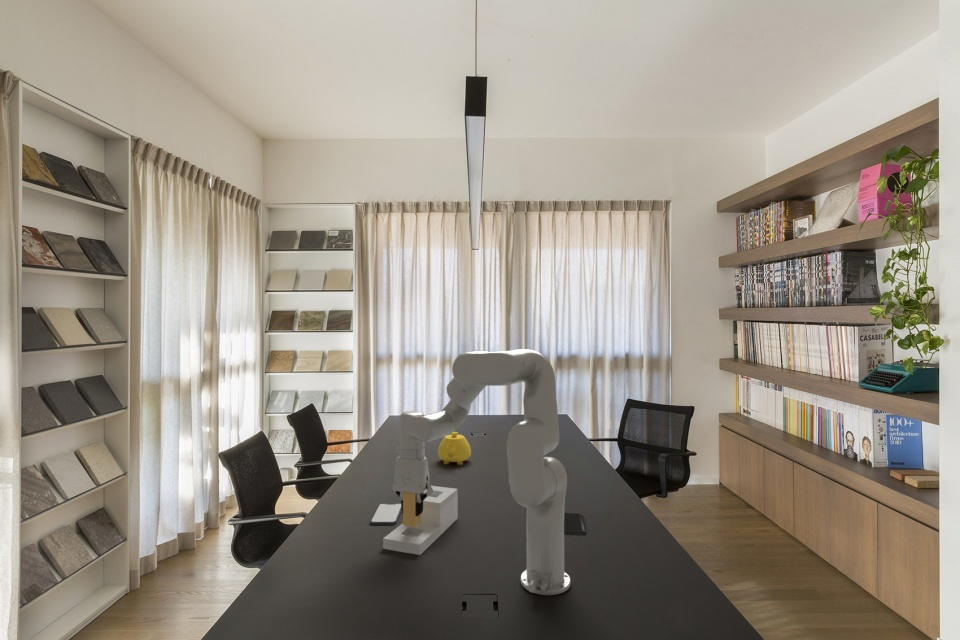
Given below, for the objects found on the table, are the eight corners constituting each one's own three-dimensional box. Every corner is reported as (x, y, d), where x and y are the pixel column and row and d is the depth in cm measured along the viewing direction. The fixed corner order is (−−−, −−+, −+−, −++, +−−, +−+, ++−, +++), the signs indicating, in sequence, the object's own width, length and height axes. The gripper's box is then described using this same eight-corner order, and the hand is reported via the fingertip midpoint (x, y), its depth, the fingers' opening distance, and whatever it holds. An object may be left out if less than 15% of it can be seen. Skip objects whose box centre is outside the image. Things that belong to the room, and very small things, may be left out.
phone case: (396, 527, 167) (403, 507, 183) (396, 522, 167) (403, 503, 183) (369, 527, 167) (379, 507, 183) (369, 522, 167) (378, 503, 183)
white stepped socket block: (420, 555, 146) (419, 520, 146) (383, 548, 150) (383, 514, 150) (457, 518, 172) (457, 488, 172) (425, 513, 176) (425, 485, 176)
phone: (582, 513, 174) (586, 532, 159) (582, 517, 174) (586, 535, 159) (559, 512, 175) (560, 530, 160) (559, 516, 175) (560, 534, 160)
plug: (414, 527, 152) (414, 493, 152) (403, 525, 153) (403, 492, 153) (421, 522, 156) (421, 489, 156) (409, 520, 157) (409, 487, 157)
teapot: (466, 470, 227) (465, 439, 227) (431, 468, 229) (431, 438, 229) (473, 457, 246) (473, 429, 246) (442, 456, 249) (442, 428, 249)
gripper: (381, 453, 154) (381, 514, 154) (431, 458, 148) (431, 522, 148) (393, 447, 161) (393, 505, 161) (442, 452, 155) (442, 512, 155)
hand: (412, 512), depth 155 cm, fingers closed on plug, 3 cm apart
